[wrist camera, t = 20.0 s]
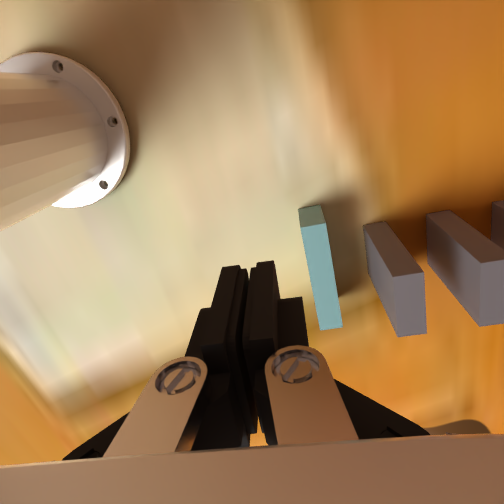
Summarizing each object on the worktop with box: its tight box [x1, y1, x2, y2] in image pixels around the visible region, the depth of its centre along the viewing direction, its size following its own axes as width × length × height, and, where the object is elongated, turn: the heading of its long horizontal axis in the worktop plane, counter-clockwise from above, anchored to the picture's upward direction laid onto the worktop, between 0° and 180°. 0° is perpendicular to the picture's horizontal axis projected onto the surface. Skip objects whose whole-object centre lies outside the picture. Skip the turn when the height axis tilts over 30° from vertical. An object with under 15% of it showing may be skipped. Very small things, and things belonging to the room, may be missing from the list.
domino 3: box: [426, 210, 504, 327], centre depth 29 cm, size 2×5×10 cm, turn 13°
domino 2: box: [363, 221, 427, 337], centre depth 30 cm, size 2×5×10 cm, turn 13°
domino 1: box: [298, 205, 343, 330], centre depth 33 cm, size 2×5×10 cm
